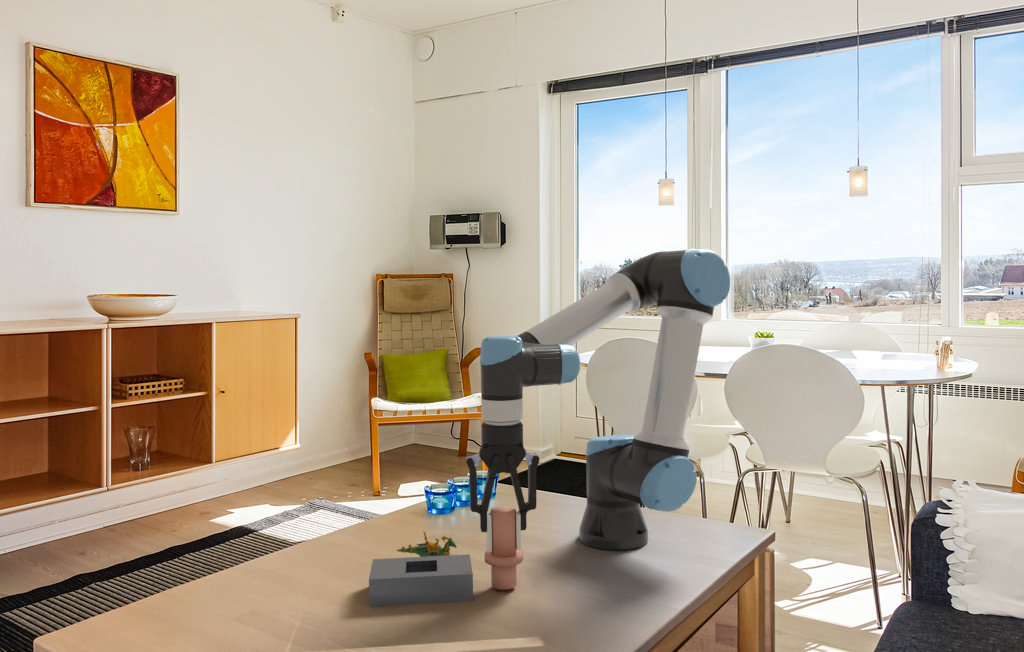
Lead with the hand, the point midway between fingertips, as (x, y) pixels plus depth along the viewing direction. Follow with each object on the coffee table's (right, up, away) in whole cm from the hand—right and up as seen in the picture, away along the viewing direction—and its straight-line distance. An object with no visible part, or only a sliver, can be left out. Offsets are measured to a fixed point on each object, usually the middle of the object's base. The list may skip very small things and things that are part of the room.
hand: (503, 547), depth 140 cm
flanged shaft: (0, -7, 0) cm, 7 cm away
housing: (-15, -9, -1) cm, 17 cm away
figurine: (-15, -9, +13) cm, 22 cm away
